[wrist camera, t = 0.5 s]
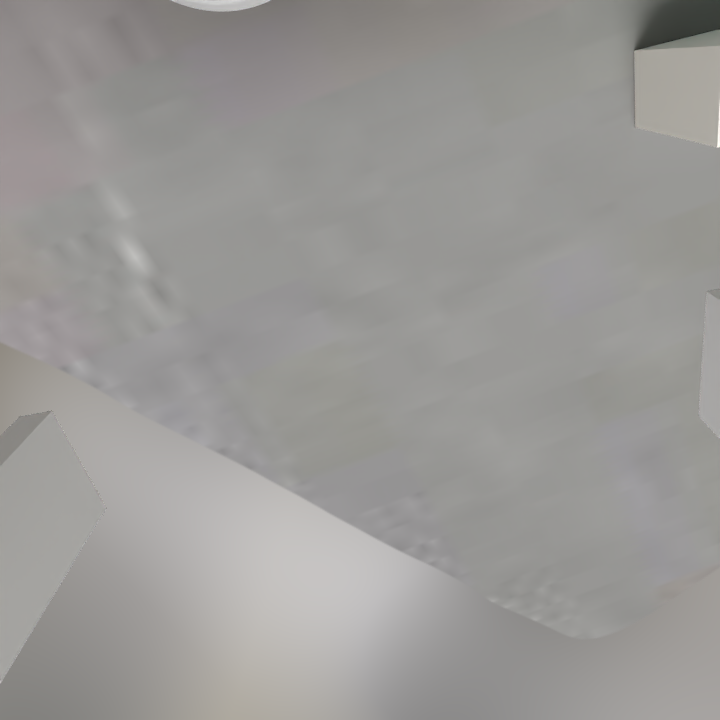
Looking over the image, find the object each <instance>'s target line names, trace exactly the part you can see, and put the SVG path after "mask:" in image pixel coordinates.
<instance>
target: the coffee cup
mask: <svg viewBox="0 0 720 720" xmlns="http://www.w3.org/2000/svg"><path fill="white" fill-rule="evenodd" d="M171 1H173V2H176V3H178V4H181V5H184V6H188V7H191V8H195V9H200V10H207V11H236V10H243V9H248V8H252V7H255V6H258V5H261V4H264V3H266V2H268V1H271V0H171Z"/></svg>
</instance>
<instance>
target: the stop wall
mask: <svg viewBox="0 0 720 720" xmlns="http://www.w3.org/2000/svg"><path fill="white" fill-rule="evenodd" d="M634 79H635V128H639V129H643V130H647V131H651V132H655V133H659V134H663V135H668V136H672V137H676V138H680V139H684V140H688V141H692V142H696V143H700V144H704V145H708V146H712V147H716V148H718V147H720V29H718V30H714V31H710V32H706V33H702V34H698V35H694V36H690V37H686V38H682V39H678V40H675V41H671V42H667V43H663V44H659V45H655V46H651V47H647V48H643V49H639V50H635V51H634Z"/></svg>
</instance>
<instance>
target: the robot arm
mask: <svg viewBox="0 0 720 720" xmlns="http://www.w3.org/2000/svg"><path fill="white" fill-rule="evenodd" d="M698 416H699V417H700V418H701V419H702V420H703V421H704V422H705V423H706V425H707V426H708V427H709V428H710V429H711V430H712V431H713V432H714V434H715V435H716V436H717V437H718V438H719V439H720V289H715V290H710V291H707V294H706V309H705V324H704V338H703V353H702V368H701V383H700V398H699V413H698ZM105 510H106V506H105V504H104V502H103V500H102V498H101V497H100V495H99V493H98V491H97V490H96V488H95V486H94V485H93V483H92V481H91V479H90V477H89V476H88V474H87V472H86V470H85V468H84V467H83V465H82V463H81V461H80V459H79V457H78V456H77V454H76V452H75V451H74V449H73V447H72V445H71V443H70V442H69V440H68V438H67V436H66V434H65V433H64V431H63V429H62V427H61V426H60V424H59V422H58V420H57V418H56V417H55V415H54V413H53V411H47V412H42V413H36V414H31V415H25V416H20V417H19V418H18V419H17V420H16V421H15V422H14V423H13V424H12V425H11V426H10V427H9V428H8V429H7V430H6V431H5V432H4V433H3V434H2V435H1V436H0V683H1V682H2V680H3V678H4V677H5V675H6V673H7V672H8V670H9V669H10V667H11V665H12V664H13V662H14V660H15V658H16V656H17V655H18V654H19V652H20V650H21V649H22V647H23V645H24V644H25V642H26V640H27V639H28V637H29V636H30V634H31V632H32V631H33V629H34V627H35V626H36V624H37V622H38V621H39V619H40V617H41V616H42V614H43V612H44V611H45V609H46V607H47V606H48V604H49V602H50V601H51V599H52V598H53V596H54V594H55V593H56V591H57V589H58V588H59V586H60V584H61V583H62V581H63V579H64V578H65V576H66V574H67V573H68V571H69V570H70V568H71V566H72V565H73V563H74V561H75V560H76V558H77V556H78V555H79V553H80V551H81V549H82V548H83V546H84V545H85V543H86V541H87V540H88V538H89V537H90V535H91V533H92V532H93V530H94V528H95V527H96V525H97V523H98V521H99V520H100V518H101V517H102V515H103V513H104V512H105Z"/></svg>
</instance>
